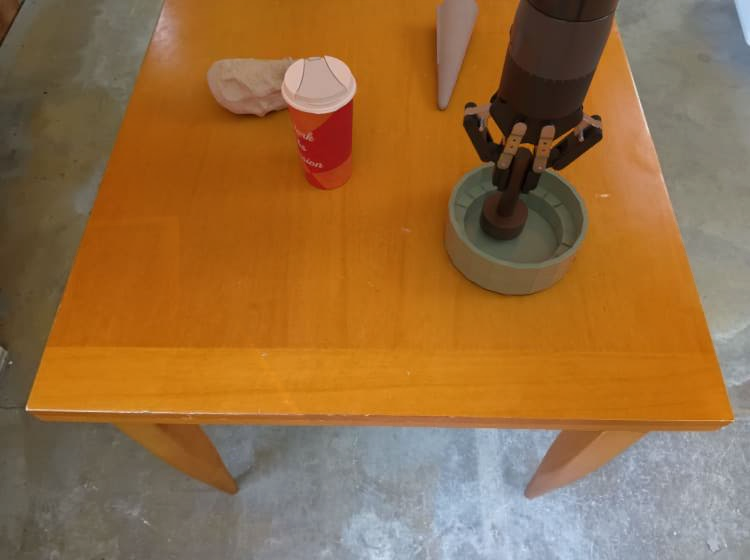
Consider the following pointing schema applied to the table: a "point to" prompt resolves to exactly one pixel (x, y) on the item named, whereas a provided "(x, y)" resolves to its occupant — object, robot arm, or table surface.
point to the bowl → (527, 251)
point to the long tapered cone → (452, 43)
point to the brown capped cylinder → (508, 202)
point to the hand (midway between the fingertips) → (512, 186)
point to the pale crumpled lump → (249, 84)
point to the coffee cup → (322, 118)
